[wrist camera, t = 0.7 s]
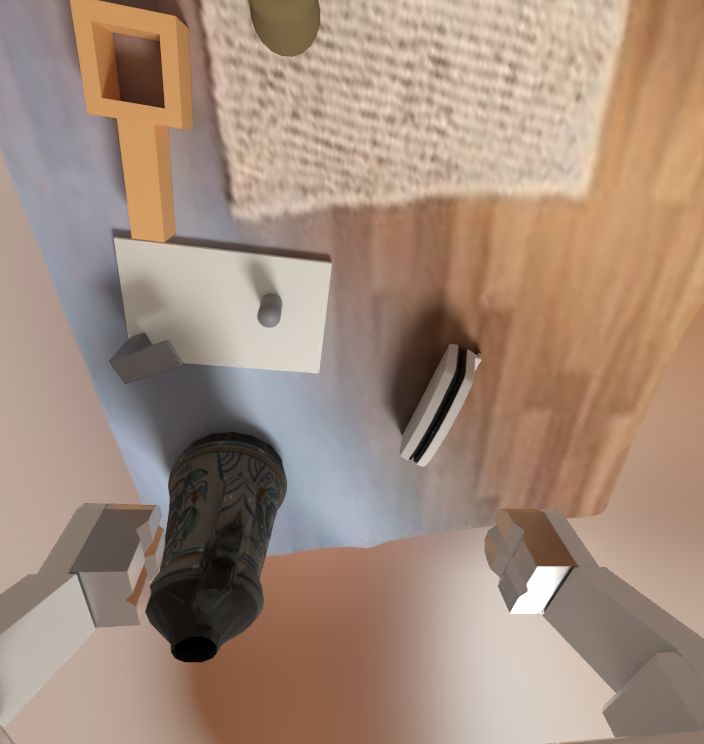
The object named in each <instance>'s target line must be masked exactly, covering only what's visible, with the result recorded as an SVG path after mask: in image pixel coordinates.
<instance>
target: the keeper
mask: <svg viewBox="0 0 704 744" xmlns="http://www.w3.org/2000/svg"><path fill="white" fill-rule="evenodd" d="M109 362H110V364H111V365H112V367H113V368H114V369H115V371H116V372H117V373H118V375H119V376H120V378H121V379H122V380H123V382H124V383H125V384H127V383H130V382H133V381H136V380H139V379H143V378H146V377H149V376H152V375H155V374H158V373H161V372H164V371H167V370H170V369H174V368H177V367H180V366H181V365H182V363H183V362H182V360H181V358H180V357H179V355H178V353H177V352H176V350H175V349H174V347H173V345H172V344H171V342H170V340H169V339H168V340H165V341H162V342H159V343H156V344H153V345H152V343H151V341H150V340H149V338H148V337H147V335H146V334H145V332H144V333H141V334H138V335H135V336H132V337H130V338H129V339H128V340H127V342H126V343H125V344H124V345H123V346H122V347H121V348H120V349H119V351H118V352H117V353H116V354H115V355H114V356H113V357H112V358H111V360H110V361H109Z"/></svg>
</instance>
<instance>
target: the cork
mask: <svg viewBox="0 0 704 744" xmlns="http://www.w3.org/2000/svg"><path fill="white" fill-rule="evenodd" d="M249 1H250V6H251V18H252V21H253V25H254V28H255V31H256V33H257V34H258V36H259V38H260V39H261V41H262V42H263V43H264V44H265V45H266V46H267V47H268V48H269V49H270V50H271V51H273V52H275V53H277V54H279V55H281V56H291V57H292V56H295V55H298V54H301V53H303V52H304V51H305V50H307V49H308V48H309V47H310V46H311V44H312V43H313V41H314V39H315V38H316V36H317V32H318V29H319V25H320V7H319V2H318V0H249Z"/></svg>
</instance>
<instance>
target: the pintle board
mask: <svg viewBox="0 0 704 744" xmlns="http://www.w3.org/2000/svg"><path fill="white" fill-rule="evenodd" d="M114 243H115V250H116V257H117V264H118V270H119V277H120V284H121V291H122V298H123V305H124V311H125V318H126V325H127V332H128V339H129V338H130V337H132V336H135V335H138V334H141V333H144V332H145V334H146V335H147V337H148V338H149V340H150V341H151V343H152V345H153V344H156V343H159V342H162V341H165V340H168V339H169V340H170V342H171V344H172V345H173V347H174V349H175V350H176V352H177V353H178V355H179V357H180V358H181V360H182V362H183V363H186V364H200V365H214V366H228V367H241V368H255V369H269V370H282V371H296V372H310V373H319V368H320V360H321V351H322V343H323V334H324V326H325V317H326V309H327V301H328V292H329V284H330V275H331V267H332V262H329V261H321V260H312V259H304V258H295V257H287V256H279V255H270V254H262V253H253V252H245V251H236V250H228V249H219V248H211V247H202V246H194V245H185V244H177V243H168V242H159V241H150V240H142V239H133V238H126V237H118V236H117V237H115V238H114Z"/></svg>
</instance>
